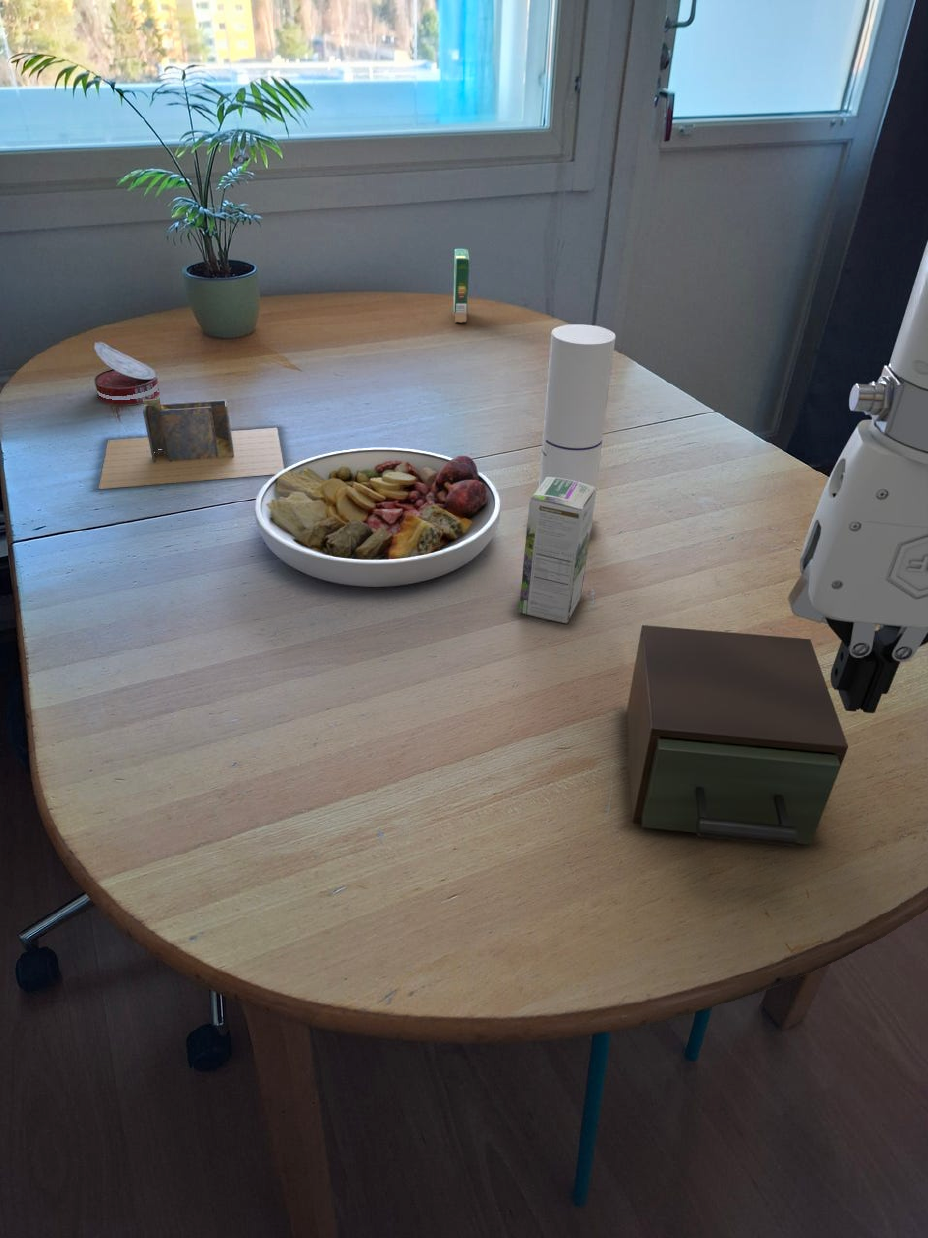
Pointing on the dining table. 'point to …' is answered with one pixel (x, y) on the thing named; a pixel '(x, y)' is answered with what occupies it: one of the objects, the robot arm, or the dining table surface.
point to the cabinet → (726, 696)
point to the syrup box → (556, 548)
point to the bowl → (378, 515)
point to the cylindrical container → (576, 402)
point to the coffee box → (461, 280)
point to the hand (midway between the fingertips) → (853, 696)
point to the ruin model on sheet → (189, 448)
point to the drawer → (738, 791)
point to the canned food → (123, 377)
